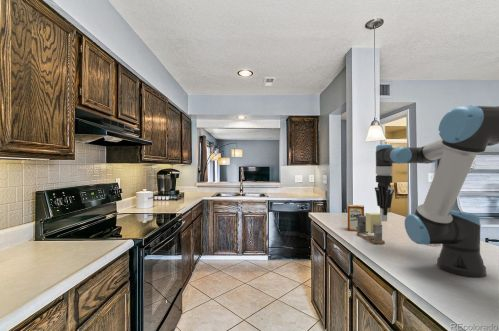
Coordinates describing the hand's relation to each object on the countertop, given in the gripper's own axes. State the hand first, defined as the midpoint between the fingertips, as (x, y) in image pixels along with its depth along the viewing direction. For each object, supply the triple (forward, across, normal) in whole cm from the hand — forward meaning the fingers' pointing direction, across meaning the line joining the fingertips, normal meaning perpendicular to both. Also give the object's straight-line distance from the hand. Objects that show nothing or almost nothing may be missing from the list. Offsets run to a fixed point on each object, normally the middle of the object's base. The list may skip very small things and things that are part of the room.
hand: (383, 221), depth 132 cm
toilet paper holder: (+13, +13, 0) cm, 18 cm away
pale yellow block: (+8, +9, 0) cm, 12 cm away
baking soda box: (+14, +33, -2) cm, 35 cm away
